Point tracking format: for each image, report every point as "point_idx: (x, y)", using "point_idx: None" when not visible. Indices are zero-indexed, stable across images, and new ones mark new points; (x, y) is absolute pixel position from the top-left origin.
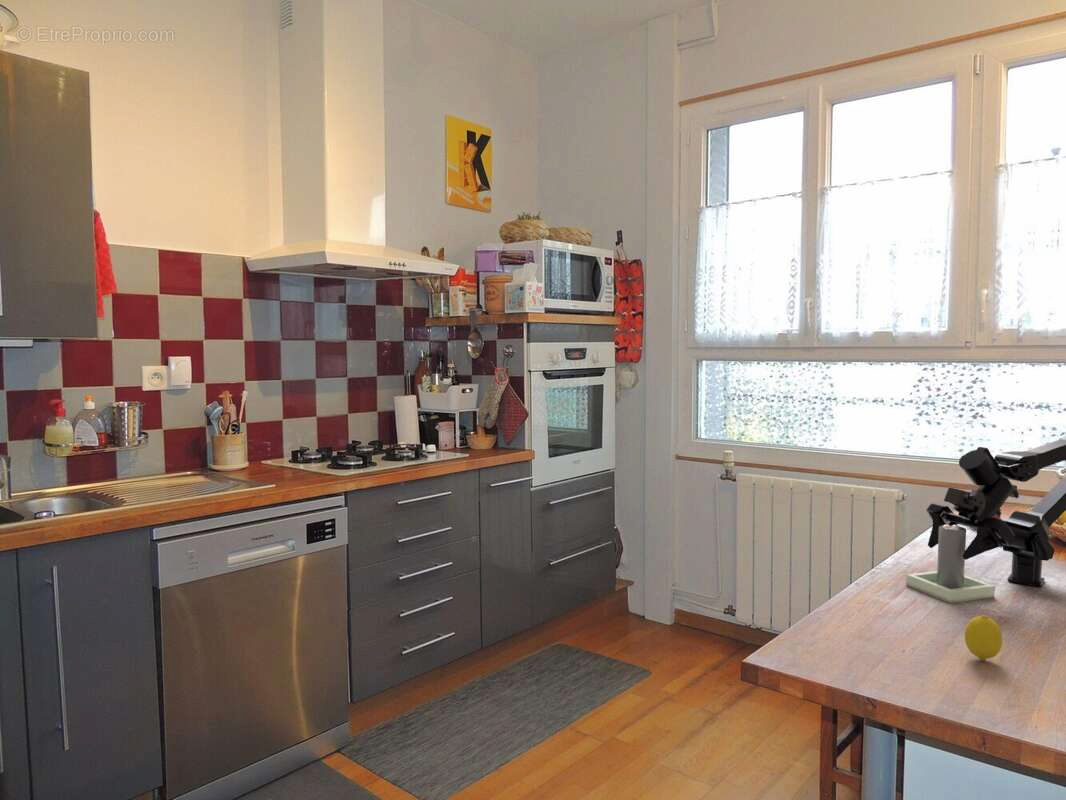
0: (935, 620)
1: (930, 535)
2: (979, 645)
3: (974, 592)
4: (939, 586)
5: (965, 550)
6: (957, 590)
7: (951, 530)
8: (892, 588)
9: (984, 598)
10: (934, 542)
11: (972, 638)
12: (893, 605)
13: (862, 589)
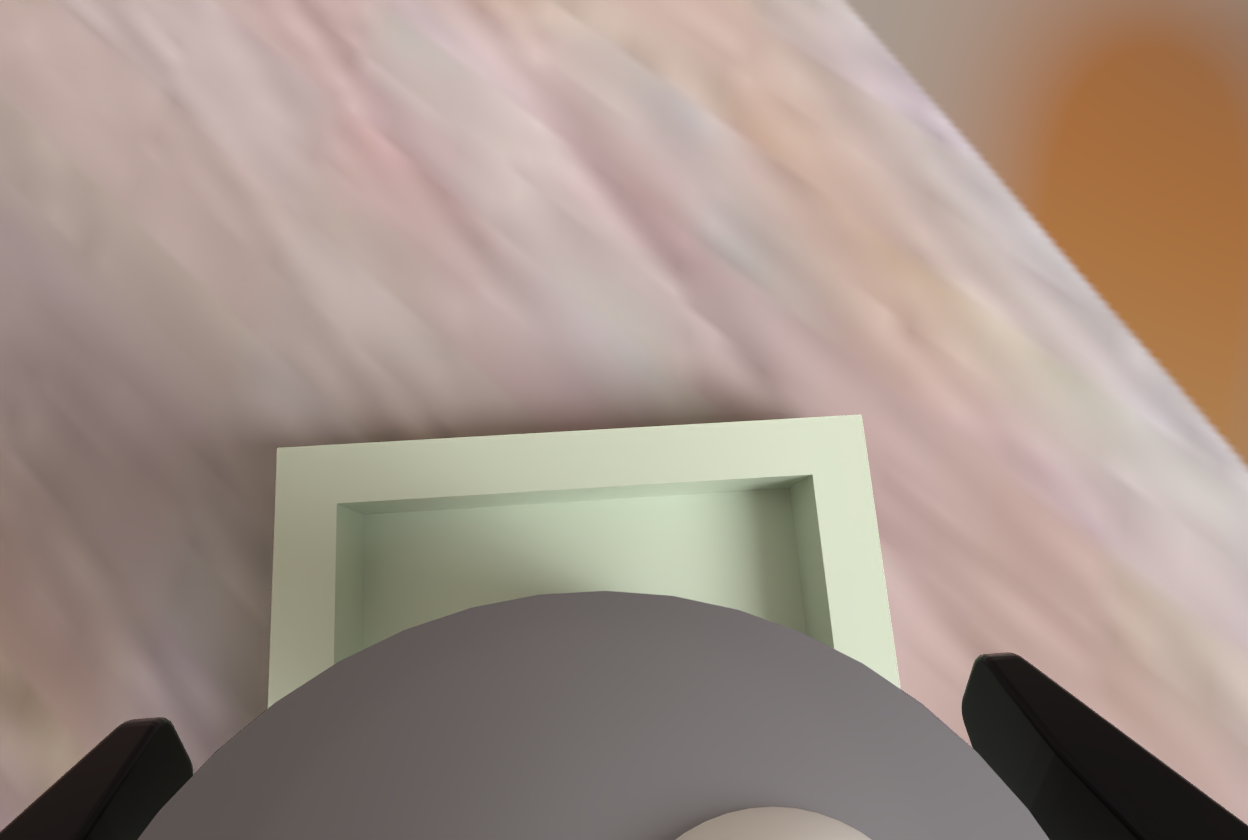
0: (66, 81)
1: (1218, 809)
2: None
3: None
4: (441, 456)
5: (82, 825)
6: (281, 544)
7: (248, 770)
8: (776, 271)
9: None
10: (1029, 810)
11: None
12: (426, 18)
13: (799, 39)
